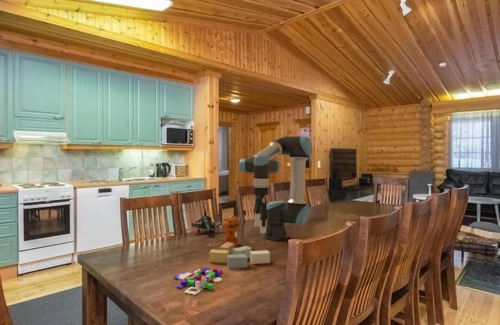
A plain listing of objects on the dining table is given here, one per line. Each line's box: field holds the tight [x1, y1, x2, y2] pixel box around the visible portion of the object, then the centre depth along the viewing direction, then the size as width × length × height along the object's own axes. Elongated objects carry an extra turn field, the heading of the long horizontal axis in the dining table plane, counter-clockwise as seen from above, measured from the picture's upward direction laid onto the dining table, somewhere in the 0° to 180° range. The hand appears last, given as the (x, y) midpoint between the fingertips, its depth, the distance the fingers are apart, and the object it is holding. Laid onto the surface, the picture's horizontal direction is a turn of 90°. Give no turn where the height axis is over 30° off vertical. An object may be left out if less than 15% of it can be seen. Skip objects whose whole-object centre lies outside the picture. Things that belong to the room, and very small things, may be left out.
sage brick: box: [231, 245, 253, 259], centre depth 161 cm, size 9×4×5 cm, turn 129°
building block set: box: [173, 267, 223, 296], centre depth 132 cm, size 25×20×4 cm
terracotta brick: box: [219, 242, 235, 255], centre depth 167 cm, size 9×4×5 cm, turn 160°
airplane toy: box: [191, 208, 223, 236], centre depth 208 cm, size 20×19×15 cm
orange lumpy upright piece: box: [221, 214, 241, 247], centre depth 182 cm, size 11×11×18 cm
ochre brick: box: [208, 249, 229, 264], centre depth 156 cm, size 9×4×5 cm, turn 81°
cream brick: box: [249, 250, 271, 265], centre depth 155 cm, size 9×4×5 cm, turn 101°
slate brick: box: [226, 254, 248, 269], centre depth 149 cm, size 9×4×5 cm, turn 100°
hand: (260, 229), depth 155 cm, fingers open, 13 cm apart
